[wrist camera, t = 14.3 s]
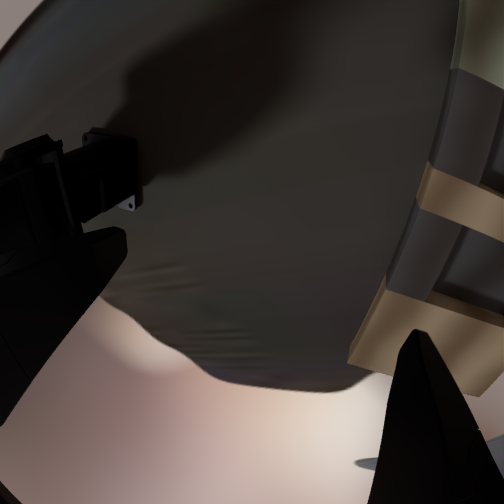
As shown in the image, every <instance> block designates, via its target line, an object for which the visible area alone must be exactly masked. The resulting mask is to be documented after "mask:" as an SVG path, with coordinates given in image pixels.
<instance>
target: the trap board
mask: <svg viewBox="0 0 504 504" xmlns="http://www.w3.org/2000/svg"><path fill="white" fill-rule="evenodd" d="M413 329H419V330H422V331H425V332H427V333H428V334H429V336H430V338H431V339H432V341H433V343H434V344H435V346H436V348H437V349H438V351H439V353H440V355H441V356H442V358H443V360H444V362H445V363H446V365H447V367H448V369H449V371H450V372H451V374H452V376H453V378H454V380H455V382H456V383H457V385H458V387H459V389H460V391H461V393H462V394H467V395H471V396H476V397H480V396H481V395H482V394H483V393H484V392H485V391H486V390H487V389H488V388H489V387H490V385H491V384H492V383H493V382H494V381H495V380H496V379H497V378H498V377H499V376H500V374H502V372H503V371H504V0H460V1H459V12H458V21H457V29H456V37H455V44H454V50H453V56H452V62H451V68H450V73H449V78H448V83H447V88H446V93H445V97H444V102H443V106H442V110H441V114H440V118H439V122H438V126H437V130H436V134H435V137H434V141H433V144H432V148H431V151H430V155H429V158H428V161H427V165H426V168H425V171H424V174H423V177H422V180H421V183H420V186H419V189H418V192H417V195H416V198H415V201H414V204H413V207H412V209H411V212H410V215H409V218H408V220H407V223H406V226H405V228H404V231H403V233H402V236H401V238H400V241H399V243H398V246H397V248H396V251H395V253H394V256H393V258H392V260H391V263H390V265H389V267H388V270H387V272H386V274H385V276H384V279H383V281H382V283H381V285H380V288H379V290H378V292H377V294H376V296H375V298H374V300H373V303H372V305H371V307H370V309H369V311H368V313H367V315H366V317H365V319H364V321H363V323H362V325H361V327H360V329H359V331H358V333H357V335H356V337H355V339H354V340H353V342H352V344H351V346H350V351H349V357H348V361H347V363H349V364H352V365H355V366H359V367H362V368H365V369H369V370H372V371H376V372H379V373H383V374H386V375H390V376H394V371H395V367H396V362H397V357H398V353H399V350H400V348H401V347H402V345H403V344H404V342H405V341H406V339H407V337H408V336H409V334H410V333H411V331H412V330H413Z"/></svg>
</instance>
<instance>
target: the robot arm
mask: <svg viewBox="0 0 504 504" xmlns="http://www.w3.org/2000/svg"><path fill="white" fill-rule="evenodd" d="M82 143H83V147H80V148H77V149H75V150H72V151H70V152H67V153H65V154H63V149H62V147H63V143H62V140H58V141H53V139H51V138H50V137H49V136H48V134H45V135H42V136H40V137H37V138H34V139H31V140H29V141H26V142H24V143H21V144H19V145H16V146H14V147H12V148H9V149H7V150H5V151H4V152H3V154H2V156H1V159H0V426H2V425H3V424H4V423H5V421H6V419H7V417H8V416H9V415H10V413H11V412H12V410H13V409H14V407H15V405H16V404H17V403H18V401H19V400H20V398H21V397H22V395H23V394H24V392H25V391H26V390H27V388H28V387H29V385H30V384H31V381H33V379H34V378H35V376H36V375H37V374H38V372H39V371H40V370H41V368H42V367H43V365H44V364H45V363H46V361H47V360H48V359H49V357H50V356H51V355H52V353H53V352H54V351H55V350H56V348H57V347H58V346H59V344H60V343H61V342H62V340H63V339H64V338H65V337H66V335H67V334H68V333H69V331H70V330H71V329H72V328H73V326H74V325H75V324H76V323H77V321H78V320H79V319H80V318H81V316H82V315H83V314H84V313H85V311H86V310H87V309H88V308H89V307H90V305H91V304H92V303H93V301H95V299H96V298H97V297H98V296H99V295H100V293H101V292H102V291H103V289H104V288H105V287H106V285H107V284H108V282H109V281H110V279H111V278H112V277H113V275H114V274H115V272H116V271H117V270H118V268H119V267H120V265H121V264H122V263H123V261H124V260H125V258H126V256H127V252H128V250H127V240H126V233H125V231H124V230H123V229H121V228H118V227H115V226H113V227H108V228H104V229H99V230H95V231H91V232H87V233H84V232H83V229H82V225H81V222H82V223H86V222H88V221H89V220H91V219H92V218H94V217H96V216H97V215H99V214H100V213H102V212H103V213H104V212H106V211H108V210H109V209H111V208H113V207H114V206H117V207H120V208H123V209H126V210H129V211H134V210H135V209H137V207H138V200H137V144H136V141H135V139H134V138H129V137H123V136H115V135H108V134H100V133H92V132H87V133H84V134H83V136H82ZM130 143H131V146H130ZM132 205H133V206H132ZM478 429H479V427H478V425H477V423H476V421H475V419H474V417H473V415H472V413H471V411H470V408H469V407H468V405H467V403H466V401H465V399H464V397H463V395H462V393H461V391H460V389H459V387H458V385H457V383H456V382H455V380H454V378H453V376H452V374H451V372H450V371H449V369H448V367H447V365H446V363H445V362H444V360H443V358H442V356H441V355H440V353H439V351H438V349H437V348H436V346H435V344H434V343H433V341H432V339H431V338H430V336H429V334H428V333H427V332H425V331H422V330H419V329H413V330H412V331H411V333H410V334H409V336H408V337H407V339H406V341H405V342H404V344H403V345H402V347H401V348H400V350H399V353H398V357H397V362H396V367H395V371H394V376H393V380H392V385H391V389H390V393H389V398H388V402H387V409H386V415H385V421H384V428H383V434H382V439H381V445H380V450H379V456H378V460H377V465H376V470H375V474H374V479H373V483H372V487H371V491H370V496H369V500H368V503H367V504H504V479H503V477H502V475H501V473H500V471H499V469H498V467H497V465H496V463H495V461H494V459H493V457H492V455H491V453H490V450H489V448H488V446H487V444H486V442H485V440H484V438H483V435H482V433H481V431H480V430H478ZM0 504H22V503H21V502H20V501H19V500H18V499H17V498H16V497H15V496H14V495H13V494H12V493H11V492H10V491H9V490H8V489H7V488H6V487H5V486H4V485H3V484H2V483H1V481H0Z"/></svg>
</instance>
